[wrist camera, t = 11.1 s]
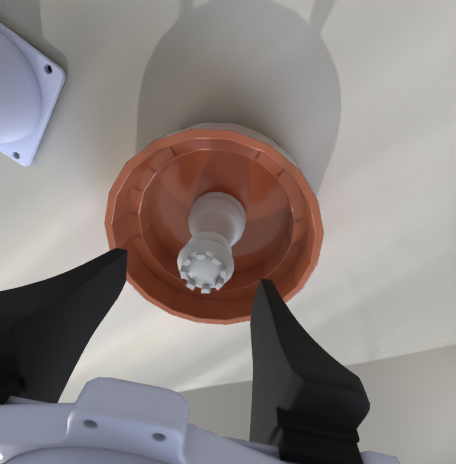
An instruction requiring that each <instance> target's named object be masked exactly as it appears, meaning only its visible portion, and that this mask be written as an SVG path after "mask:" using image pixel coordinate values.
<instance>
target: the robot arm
mask: <svg viewBox="0 0 456 464" xmlns="http://www.w3.org/2000/svg"><path fill="white" fill-rule="evenodd" d="M49 65H50V66H51V68H52V72H51V73H50V72H49V70H48V66H49ZM65 79H66V75H65V72H64V70H63V69H62V68H61V67H60V66H58V65H57V64H56V63H54V62H53V61H52V60H50V59H49V58H48V57H46V56H45V55H44V54H42V53H41V52H39V51H38V50H37V49H35V48H34V47H33V46H31V45H30V44H29V43H27V42H26V41H25V40H23V39H22V38H21V37H19V36H18V35H17V34H15V33H14V32H13V31H11V30H10V29H9V28H7V27H6V26H5V25H3V24H2V23H1V22H0V151H1V152H3V153H4V154H6V155H7V156H9V157H10V158H12V159H13V160H15V161H17V162H18V163H20V164H21V165H23V166H27V165H30V164H31V163H32V161H33V159H34V156H35V154H36V151H37V149H38V146H39V144H40V141H41V139H42V136H43V134H44V131H45V129H46V127H47V124H48V122H49V119H50V117H51V114H52V112H53V109H54V107H55V104H56V102H57V99H58V97H59V94H60V92H61V89H62V87H63V84H64V82H65ZM17 153H19V155H20V157H19V156H18V155H17ZM127 254H128V250H125V249H120V248H114V249H112V250H110V251H108V252H106V253H105V254H103V255H101V256H99V257H97V258H95V259H93V260H91V261H89V262H87V263H85V264H83V265H81V266H78V267H76V268H74V269H72V270H70V271H67V272H65V273H62V274H60V275H57V276H54V277H52V278H49V279H46V280H43V281H39V282H36V283H32V284H29V285H25V286H22V287H18V288H13V289H9V290H4V291H0V464H400V462H399V460H398V458H397V457H395V456H393V455H387V454H382V453H377V452H371V451H364V452H361V453H360V452H359V449H358V446H357V443H358V442H359V436H358V432H357V427H358V426H359V425H360V424H361V422H362V421H363V419H364V418H365V417H366V415H367V413H368V412H369V410H370V403H369V400H368V398H367V395H366V392H365V390H364V387H363V385H362V383H361V381H360V378H359V377H358V376H356V375H355V374H354V373H352V372H351V371H349V370H348V369H346V368H345V367H344V366H343V365H341V364H340V363H339V362H338V361H336V360H335V359H334V358H333V357H332V356H330V355H329V354H328V353H327V352H326V351H325V350H324V349H323V348H322V347H321V346H319V345H318V344H317V343H316V342H315V341H314V340H313V339H312V337H311V336H310V335H309V334H308V333H307V332H306V331H305V330H304V328H303V327H302V326H301V325H300V324H299V322H298V321H297V320H296V318H295V317H294V316H293V314H292V313H291V312H290V310H289V309H288V307H287V305H286V304H285V302H284V301H283V299H282V297H281V296H280V294H279V292H278V290H277V289H276V287H275V285H274V283H273V282H272V280H267V279H262V278H261V279H260V282H259V285H258V288H257V291H256V294H255V297H254V300H253V304H252V307H251V321H250V327H251V342H252V357H253V388H252V409H251V425H250V439H249V441H245V440H240V439H235V438H229V437H224V436H221V435H218V434H216V433H214V432H211V431H209V430H207V429H204V428H202V427H199V426H197V425H195V424H192V423H190V422H188V416H189V411H190V410H189V404H188V401H187V400H186V399H185V398H184V397H183V396H181V394H179V393H178V392H175V391H172V390H170V389H166V388H161V387H156V386H151V385H146V384H141V383H136V382H131V381H125V380H120V379H115V378H107V377H98V378H95V379H93V380H91V381H88V382H87V383H86V384H85V386H84V388H83V390H82V392H81V393H80V395H79V397H78V399H77V400H76V402H75V403H58V401H59V398H60V396H61V394H62V392H63V390H64V388H65V386H66V384H67V382H68V380H69V378H70V376H71V374H72V372H73V370H74V368H75V366H76V364H77V362H78V360H79V358H80V356H81V354H82V353H83V351H84V349H85V347H86V345H87V343H88V342H89V340H90V338H91V336H92V335H93V333H94V332H95V330H96V329H97V327H98V326H99V324H100V323H101V321H102V320H103V319H104V317H105V316H106V314H107V313H108V311H109V310H110V308H111V307H112V305H113V304H114V303H115V301H116V300H117V298H118V296H119V295H120V293H121V291H122V289H123V287H124V285H125V282H126V275H127Z"/></svg>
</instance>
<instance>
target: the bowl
mask: <svg viewBox="0 0 456 464" xmlns="http://www.w3.org/2000/svg"><path fill="white" fill-rule="evenodd" d="M209 192H222V193H225V194H228V195H231V196H233V197H234V198H235V199H236V200H237V201H239V202H240V203H241V205H242V207H243V209H244V211H245V215H246V224H245V229H244V231H243V234H242V236H241V238H240V239H239V240H238V241H237V242H236V243H235V244H234V245H233V246H231V251H232V258H233V259H234V271H233V273H232V276H231V278H230V279H229V280H228V281H227V282H225V283H224V285H223V286H222V287H221V288H220V289H219V290H217V289H216V288H211V290H210V293H201V289H202V288H200V287H197V286H195V288H194V289H193V291H192V290H191V289H190V288H188V287H187V286H186V283H187V280H186V279H181V276H180V271H179V269H178V263H177V259H178V256H179V252H180V251H181V250H182V249H183V248H184V247H185V245H186V244H188V242H189V240H190V239H191V238H192V237H193V236H192V234H191V233H190V230H189V223H188V218H189V214H190V211H191V208H192V205H193V204H194V203H195V201H196V200H197V199H198V198H199V197H201V196H203V195H205V194H207V193H209ZM105 228H106V233H107V238H108V243H109V248H110V250H112V249H114V248H120V249H125V250H128V254H127V275H126V280H127V281H128V282H129V283H130V284H131V285H132V286H133V287H134V288H135V289H136V290H137V291H138V292H139V293H140V294H141V295H142V296H143V297H144V298H145V299H146V300H147V301H149V302H151V303H152V304H154V305H156V306H157V307H159V308H161V309H162V310H164V311H166V312H168V313H169V314H171V315H175V316H178V317H181V318H184V319H188V320H191V321H194V322H197V323H209V324H224V325H228V324H234V323H239V322H245V321H250V320H251V307H252V304H253V300H254V297H255V294H256V291H257V288H258V285H259V282H260V279H261V278H262V279H267V280H272V282H273V283H274V285H275V287H276V289H277V290H278V292H279V294H280V296H281V297H282V299H283V301H284V302H285V304H286V303H287V302H288V301H289V300H290V299H292V298H293V297H294V296H295V295H296V294H297V293H299V292H300V291H301V290H302V289H303V288H304V286H305V284H306V282H307V281H308V279H309V277H310V276H311V274H312V272H313V271H314V269H315V267H316V266H317V263H318V260H319V255H320V249H321V244H322V239H323V226H322V221H321V215H320V209H319V203H318V200H317V198H316V196H315V195H314V193H313V191H312V189H311V188H310V186H309V184H308V183H307V181H306V179H305V178H304V176H303V174H302V172H301V171H300V169H299V168H298V166H297V165H296V163H295V162H294V161H293V159H292V158H291V156H290V155H289V154H288V153H287V152H286V151H284V150H283V149H282V148H281V147H280V146H278V145H277V144H276V143H275V142H274V141H272V140H271V139H270V138H269V137H268V136H266V135H264V134H262V133H260V132H257V131H254V130H252V129H249V128H247V127H244V126H241V125H239V124H235V123H209V122H203V123H199V124H196V125H193V126H190V127H187V128H184V129H181V130H178V131H175V132H172V133H170V134H168V135H166V136H164V137H161V138H159V139H157V140H155V141H153V142H152V143H150V144H149V145H148V146H147V147H145V148H144V149H143V150H142V151H140V152H139V153H138V154H137V155H135V156H134V157H133V158H132V159H130V160H129V161H128V162H127V163H126V164H125V165H124V167H123V169H122V170H121V172H120V174H119V176H118V178H117V179H116V181H115V183H114V185H113V186H112V188H111V190H110V192H109V196H108V203H107V210H106V216H105Z"/></svg>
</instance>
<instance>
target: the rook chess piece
mask: <svg viewBox="0 0 456 464" xmlns="http://www.w3.org/2000/svg"><path fill="white" fill-rule="evenodd" d="M188 223H189V230H190V233H191V234H192V236H193V237H192V238H191V239H190V240H189V242H188V244H186V245H185V247H184V248H183V249H182V250H181V251H180V252H179V256H178V259H177V263H178V269H179V271H180V276H181V279H186V280H187V283H186V286H187V287H188V288H190V289H191V290H192V291H193V289H194V288H195V286H197V287H200V288H202V289H201V293H210V290H211V288H216V289H217V290H219V289H220V288H221V287H222V286H223V285H224V283H225V282H227V281H228V280H229V279H230V278H231V276H232V273H233V271H234V259H233V258H232V251H231V246H233V245H234V244H235V243H236V242H237V241H238V240H239V239H240V238H241V236H242V234H243V231H244V229H245V224H246V215H245V211H244V209H243V207H242V205H241V203H240V202H239V201H237V200H236V199H235V198H234V197H233V196H231V195H228V194H225V193H222V192H209V193H207V194H205V195H203V196H201V197H199V198H198V199H197V200H196V201H195V203H194V204H193V205H192V208H191V211H190V214H189V218H188Z"/></svg>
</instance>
